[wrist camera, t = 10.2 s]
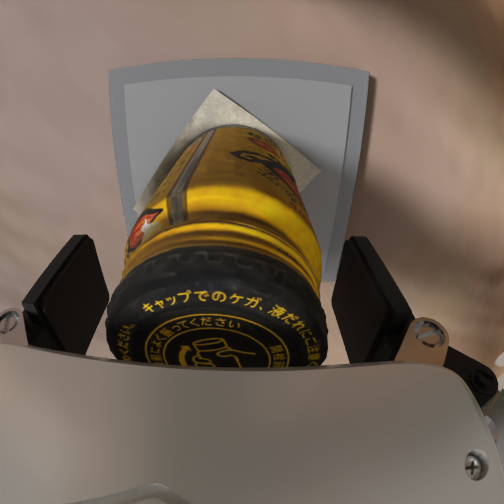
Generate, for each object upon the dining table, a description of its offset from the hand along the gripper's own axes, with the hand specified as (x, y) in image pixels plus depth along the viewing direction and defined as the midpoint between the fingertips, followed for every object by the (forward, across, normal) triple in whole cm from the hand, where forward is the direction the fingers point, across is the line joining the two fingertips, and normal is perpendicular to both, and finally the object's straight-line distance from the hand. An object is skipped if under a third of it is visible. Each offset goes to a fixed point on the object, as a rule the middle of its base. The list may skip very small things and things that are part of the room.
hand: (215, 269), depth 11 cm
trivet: (+8, 0, -1) cm, 8 cm away
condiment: (+7, 0, 0) cm, 8 cm away
